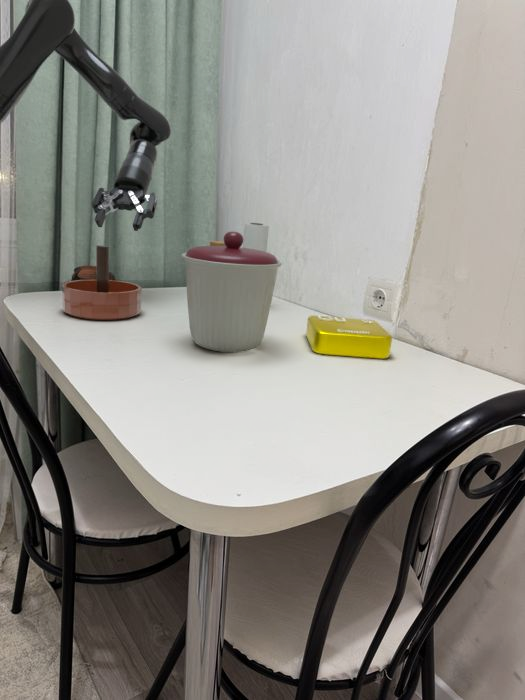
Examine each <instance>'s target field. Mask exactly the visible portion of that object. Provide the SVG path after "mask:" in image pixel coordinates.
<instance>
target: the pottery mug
mask: <svg viewBox="0 0 525 700" xmlns="http://www.w3.org/2000/svg"><path fill="white" fill-rule="evenodd" d="M76 280H96V265H80V266H77V267H75V268H74V269H73V274H72V275H71V279H70V281H76ZM109 280H114V281H116V276H115V275H114V273H112V272H110V271H109Z"/></svg>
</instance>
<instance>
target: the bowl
mask: <svg viewBox="0 0 525 700" xmlns="http://www.w3.org/2000/svg"><path fill="white" fill-rule="evenodd" d="M61 290H62V291H61V293H62V294H61V296H62V297H61V299H62V301H61V302H62V311H63V312H64V313H66V314H69V315H70V316H73V317H75V318H79V319H84V320H91V321H92V320H94V321H115V320H116V321H117V320H125V319H129V318H132V317H134V316H138V315H139V314H140V313H141V312H142V286H141V285H139V284H136V283H133V282H129V281H122V280H115V281H114V280H109V292H97V283H96V280H76V281H71V280H70V281H66V282H64V283H63V284H61Z"/></svg>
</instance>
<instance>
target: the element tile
mask: <svg viewBox="0 0 525 700" xmlns="http://www.w3.org/2000/svg"><path fill="white" fill-rule="evenodd" d="M306 322H307V323H306V332H305V336H306V339H307V340H308V343H309V345H310V348H311V350H312V351H313V352H314V353H316V354H319V355H327V356H340V357H353V358H355V357H356V358H365V359H366V358H367V359H382V360H383V359H384V360H385V359H388V358H389V357H390V353H391V349H392V348H391V347H392V341H393V335H391V334H390V333H389V332H388V331H387V330H386V329H385V328H384V327H383V326H382V325H380V324H379V323H378V322H377V321H376V320H373V319H364V318H363V319H361V318H352V317H351V318H350V317H349V318H348V317H336V316H330V315H325V314H323V315H322V314H320V315H310V316H308V317H307V321H306Z"/></svg>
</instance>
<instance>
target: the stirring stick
mask: <svg viewBox="0 0 525 700" xmlns="http://www.w3.org/2000/svg"><path fill="white" fill-rule="evenodd" d="M95 247H96V248H95V249H96V250H95V251H96V255H95V257H96V258H95V259H96V263H95V264H96V265H95V266H96V283H97V292H109V272H110V246H109V245H96V246H95Z"/></svg>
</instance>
